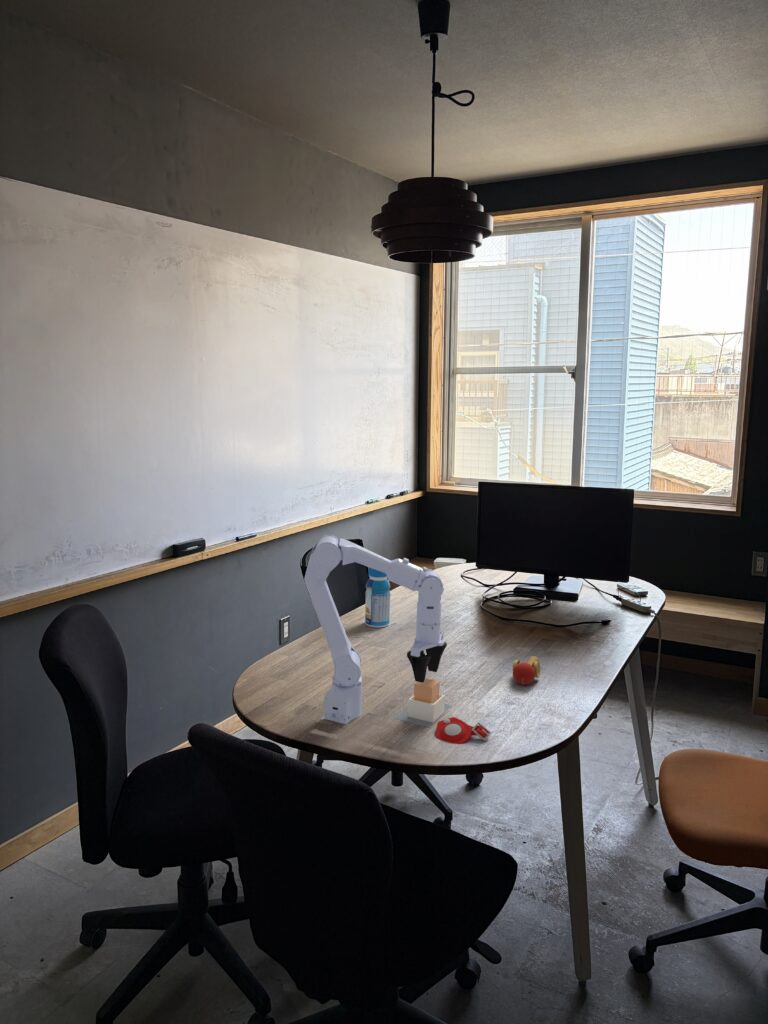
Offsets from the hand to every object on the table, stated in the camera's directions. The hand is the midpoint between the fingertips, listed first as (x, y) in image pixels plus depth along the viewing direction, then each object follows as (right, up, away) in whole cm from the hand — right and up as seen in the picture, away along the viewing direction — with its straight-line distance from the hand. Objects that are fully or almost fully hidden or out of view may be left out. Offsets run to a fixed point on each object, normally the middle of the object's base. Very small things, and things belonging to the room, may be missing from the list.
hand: (426, 676), depth 182 cm
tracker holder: (+7, -13, -9) cm, 18 cm away
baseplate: (0, -10, +3) cm, 10 cm away
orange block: (0, -6, +1) cm, 6 cm away
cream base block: (0, -10, +1) cm, 10 cm away
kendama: (+30, -7, +30) cm, 43 cm away
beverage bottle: (-12, +2, +72) cm, 73 cm away
